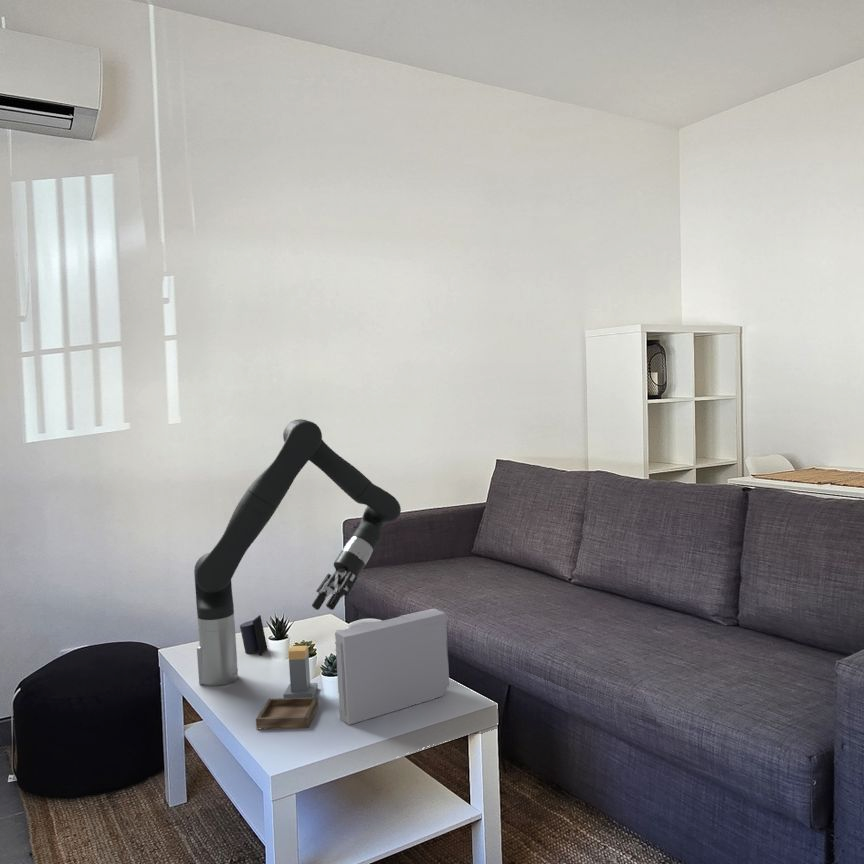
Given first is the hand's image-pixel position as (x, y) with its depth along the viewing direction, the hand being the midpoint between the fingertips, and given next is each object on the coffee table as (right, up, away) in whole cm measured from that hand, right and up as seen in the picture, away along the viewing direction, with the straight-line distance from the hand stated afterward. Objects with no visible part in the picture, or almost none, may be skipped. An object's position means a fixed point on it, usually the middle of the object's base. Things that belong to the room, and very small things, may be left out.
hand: (321, 608), depth 207 cm
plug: (-3, -19, -12) cm, 22 cm away
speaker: (-23, -18, +23) cm, 37 cm away
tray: (-4, -19, -26) cm, 33 cm away
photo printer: (+11, -17, +7) cm, 22 cm away
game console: (+20, -18, -22) cm, 35 cm away
